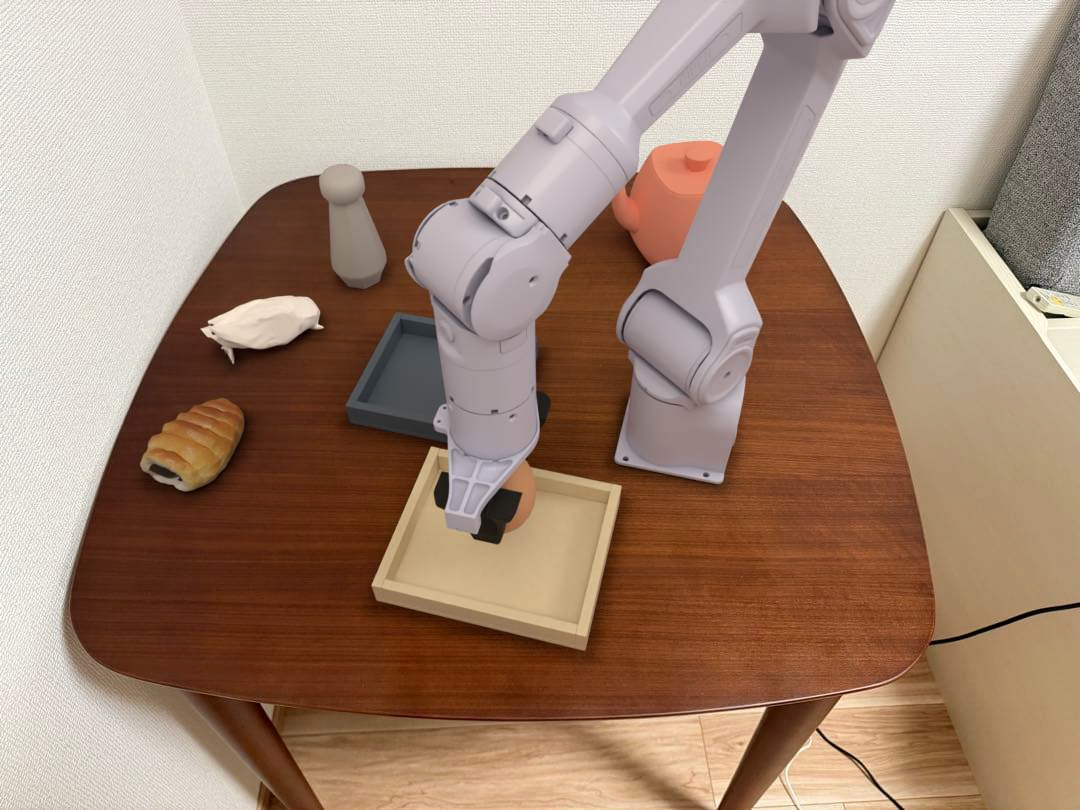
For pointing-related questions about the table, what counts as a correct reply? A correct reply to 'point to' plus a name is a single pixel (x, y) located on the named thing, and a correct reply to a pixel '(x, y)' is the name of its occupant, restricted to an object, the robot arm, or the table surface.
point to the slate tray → (403, 381)
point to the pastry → (195, 445)
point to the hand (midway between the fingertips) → (499, 502)
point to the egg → (522, 483)
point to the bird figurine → (263, 323)
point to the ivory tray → (505, 559)
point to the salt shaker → (351, 228)
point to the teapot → (666, 197)
